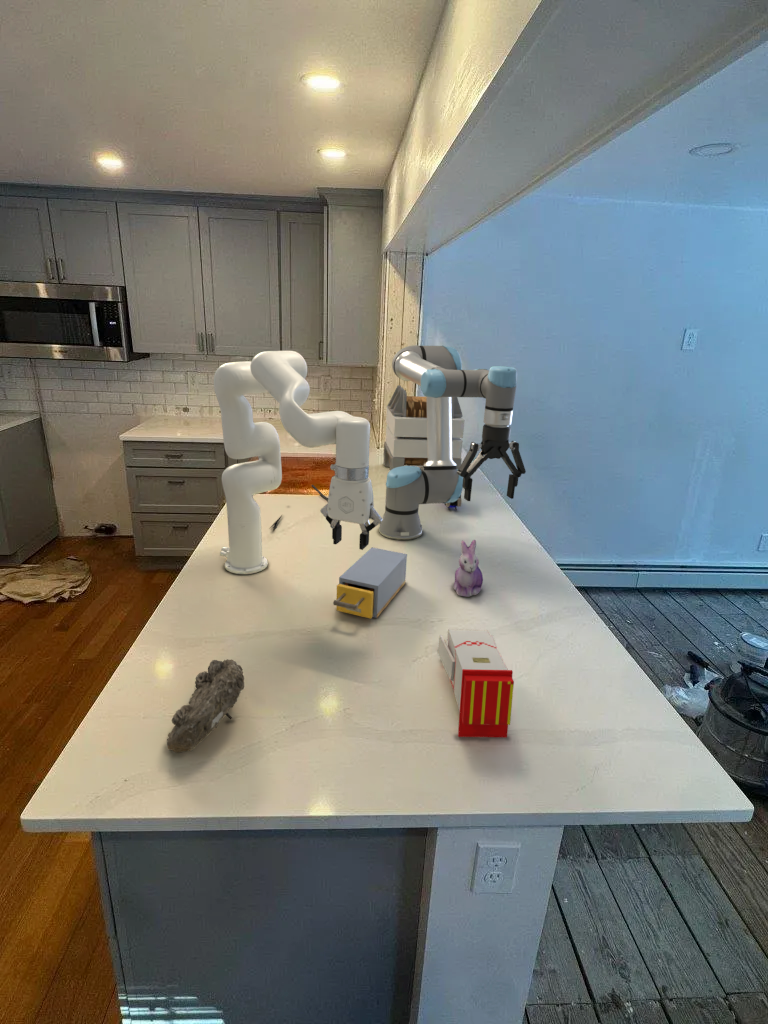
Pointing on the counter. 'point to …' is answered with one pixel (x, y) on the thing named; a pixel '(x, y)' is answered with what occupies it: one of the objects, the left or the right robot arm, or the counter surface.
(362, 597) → the drawer
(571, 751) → the counter surface
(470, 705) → the toy
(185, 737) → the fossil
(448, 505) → the figurine character
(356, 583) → the cabinet
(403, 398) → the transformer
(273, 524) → the feather
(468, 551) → the figurine
